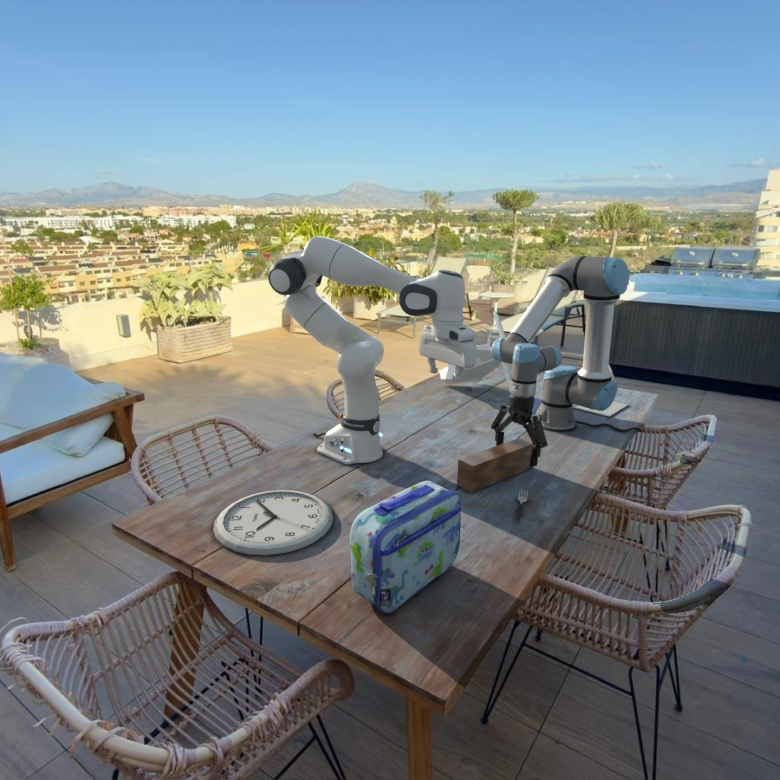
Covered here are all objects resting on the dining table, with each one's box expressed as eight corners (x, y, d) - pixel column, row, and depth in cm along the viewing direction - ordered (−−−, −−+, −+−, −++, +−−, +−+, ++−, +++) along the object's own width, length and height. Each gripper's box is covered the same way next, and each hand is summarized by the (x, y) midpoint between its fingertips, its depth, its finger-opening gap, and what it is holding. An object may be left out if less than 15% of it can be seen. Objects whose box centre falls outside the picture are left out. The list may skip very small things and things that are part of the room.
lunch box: (379, 627, 99) (381, 531, 93) (343, 599, 107) (342, 508, 100) (464, 568, 117) (470, 484, 111) (428, 548, 124) (431, 467, 118)
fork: (511, 521, 136) (512, 514, 136) (519, 493, 150) (519, 487, 150) (521, 523, 135) (522, 516, 135) (528, 495, 150) (528, 489, 149)
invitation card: (608, 416, 214) (573, 407, 224) (608, 416, 214) (573, 408, 224) (628, 404, 229) (594, 396, 238) (628, 405, 229) (594, 397, 238)
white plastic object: (461, 429, 252) (437, 405, 227) (444, 352, 274) (420, 323, 250) (535, 404, 240) (518, 377, 215) (510, 326, 262) (492, 293, 237)
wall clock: (331, 546, 121) (198, 551, 119) (331, 552, 122) (199, 557, 119) (333, 485, 150) (227, 488, 147) (334, 490, 150) (227, 493, 148)
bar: (516, 461, 172) (519, 437, 169) (531, 468, 167) (533, 443, 165) (456, 485, 155) (458, 459, 153) (471, 493, 151) (472, 466, 148)
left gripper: (414, 324, 153) (413, 370, 157) (465, 336, 138) (462, 386, 142) (430, 322, 157) (428, 367, 161) (481, 334, 142) (478, 382, 146)
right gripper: (483, 386, 167) (478, 448, 173) (549, 407, 148) (541, 475, 154) (498, 383, 171) (493, 443, 177) (564, 403, 152) (556, 469, 159)
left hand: (444, 376), depth 151 cm, fingers open, 8 cm apart
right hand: (515, 458), depth 166 cm, fingers open, 13 cm apart
